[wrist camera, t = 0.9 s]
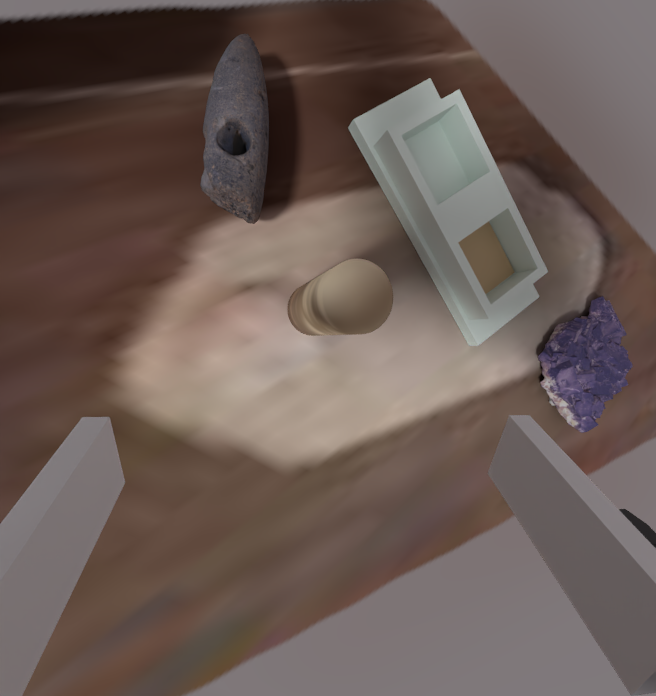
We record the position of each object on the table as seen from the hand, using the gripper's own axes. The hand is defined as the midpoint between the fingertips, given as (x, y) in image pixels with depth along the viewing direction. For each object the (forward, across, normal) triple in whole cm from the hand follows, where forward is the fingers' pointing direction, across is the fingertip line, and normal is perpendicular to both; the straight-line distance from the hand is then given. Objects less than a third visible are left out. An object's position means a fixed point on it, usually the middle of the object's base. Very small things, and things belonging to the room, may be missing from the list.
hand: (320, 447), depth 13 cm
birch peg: (+24, +2, -4) cm, 25 cm away
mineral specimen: (+27, +34, -12) cm, 45 cm away
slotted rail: (+31, +16, +4) cm, 35 cm away
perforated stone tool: (+29, -6, +9) cm, 31 cm away
